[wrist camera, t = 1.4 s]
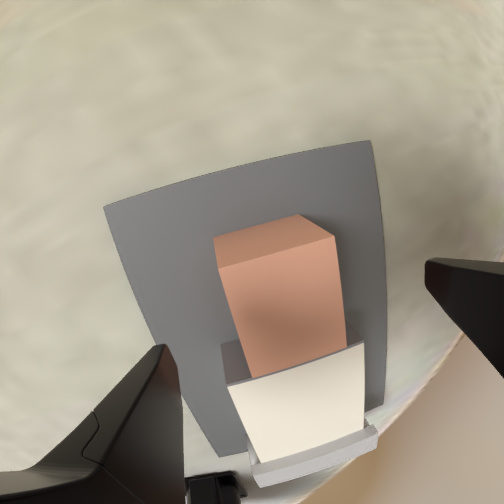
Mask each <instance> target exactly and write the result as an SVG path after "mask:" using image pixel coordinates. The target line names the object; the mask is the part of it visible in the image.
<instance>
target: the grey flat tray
mask: <svg viewBox="0 0 504 504" xmlns="http://www.w3.org/2000/svg"><path fill="white" fill-rule="evenodd" d="M103 209H104V212H105V215H106V218H107V221H108V225H109V228H110V231H111V234H112V237H113V239H114V242H115V245H116V248H117V251H118V254H119V256H120V259H121V262H122V265H123V267H124V270H125V272H126V275H127V278H128V280H129V283H130V285H131V288H132V290H133V293H134V295H135V298H136V300H137V302H138V305H139V307H140V309H141V312H142V314H143V316H144V319H145V321H146V323H147V325H148V328H149V330H150V332H151V334H152V336H153V339H154V341H155V343H156V345H159V344H164V343H165V344H167V346H168V347H169V349H170V351H171V354H172V356H173V358H174V360H175V362H176V364H177V367H178V374H179V382H180V391H181V394H182V396H183V398H184V400H185V402H186V403H187V405H188V407H189V409H190V410H191V412H192V414H193V416H194V417H195V419H196V421H197V423H198V424H199V426H200V428H201V429H202V431H203V433H204V434H205V436H206V438H207V439H208V441H209V442H210V444H211V446H212V447H213V449H214V450H215V452H216V454H217V455H218V457H224V456H229V455H234V454H238V453H243V452H247V451H248V452H249V457H250V462H251V470H252V475H253V477H254V479H255V481H256V482H257V484H258V486H259V487H260V488H262V487H266V486H270V485H274V484H278V483H282V482H286V481H289V480H293V479H296V478H299V477H303V476H306V475H309V474H312V473H315V472H318V471H321V470H324V469H326V468H329V467H332V466H335V465H337V464H340V463H343V462H345V461H348V460H350V459H353V458H355V457H357V456H360V455H362V454H364V453H367V452H369V451H371V450H373V449H376V447H377V440H378V432H377V430H376V428H375V427H374V425H373V424H372V425H369V424H368V422H367V420H366V419H365V417H364V413H365V412H367V411H369V410H371V409H374V408H376V407H378V406H380V405H382V404H383V402H384V389H385V374H386V352H387V290H386V268H385V252H384V239H383V228H382V218H381V209H380V201H379V193H378V186H377V179H376V172H375V166H374V160H373V154H372V148H371V143H370V140H368V141H360V142H353V143H347V144H341V145H335V146H330V147H324V148H319V149H314V150H309V151H303V152H298V153H294V154H289V155H284V156H279V157H275V158H270V159H266V160H262V161H257V162H253V163H249V164H245V165H241V166H237V167H233V168H229V169H225V170H221V171H217V172H213V173H209V174H206V175H202V176H198V177H195V178H191V179H188V180H184V181H181V182H177V183H174V184H171V185H167V186H164V187H161V188H158V189H154V190H151V191H148V192H145V193H142V194H139V195H136V196H133V197H130V198H127V199H124V200H121V201H118V202H115V203H112V204H109V205H106V206H104V207H103ZM297 214H299V215H301V216H302V217H304V218H306V219H307V220H309V221H311V222H312V223H314V224H316V225H317V226H319V227H321V228H322V229H324V230H326V231H327V232H329V233H330V234H332V235H334V236H335V243H336V250H337V257H338V265H339V272H340V281H341V289H342V298H343V308H344V318H345V329H346V342H347V347H346V348H343V349H341V350H338V351H335V352H333V353H330V354H327V355H324V356H322V357H319V358H316V359H313V360H310V361H307V362H304V363H301V364H298V365H295V366H292V367H289V368H285V369H282V370H279V371H276V372H272V373H269V374H266V375H262V376H259V377H255V378H252V376H251V373H250V370H249V367H248V363H247V360H246V357H245V354H244V351H243V348H242V345H241V342H240V339H239V336H238V333H237V329H236V326H235V323H234V320H233V317H232V313H231V310H230V307H229V304H228V301H227V297H226V294H225V291H224V287H223V284H222V281H221V277H220V274H219V271H218V266H217V260H216V254H215V248H214V242H213V237H216V236H219V235H223V234H226V233H230V232H234V231H237V230H241V229H245V228H248V227H252V226H256V225H260V224H263V223H267V222H271V221H274V220H278V219H282V218H286V217H290V216H293V215H297Z"/></svg>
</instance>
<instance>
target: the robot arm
mask: <svg viewBox="0 0 504 504" xmlns="http://www.w3.org/2000/svg"><path fill="white" fill-rule="evenodd" d="M425 286H426V288H427V290H428V291H429V292H430V293H431V295H432V296H433V297H434V298H435V300H436V301H437V302H438V303H439V305H440V306H441V307H442V308H443V310H444V311H445V312H446V314H447V315H448V316H449V317H450V318H451V319H452V320H453V321H454V323H455V324H456V325H457V326H458V327H459V328H460V329H461V330H462V331H463V332H464V333H465V334H466V335H467V337H469V339H470V340H471V341H472V342H473V343H474V344H475V345H476V346H477V348H478V349H479V350H480V351H481V352H482V353H483V354H484V356H485V357H486V358H487V359H488V360H489V361H490V363H491V364H492V365H493V366H494V367H495V368H496V370H497V371H498V372H499V373H500V375H501V376H502V377H503V378H504V263H503V262H490V261H476V260H462V259H448V258H432V259H430V260H428V261H426V263H425ZM93 411H94V412H93ZM93 411H92V412H91V413H90V414H89V415H88V416H87V417H86V418H85V419H84V420H83V421H82V422H81V423H80V424H79V425H78V426H77V427H76V428H75V429H74V430H73V431H72V432H71V433H70V434H69V435H68V436H67V437H66V438H65V439H64V440H63V441H61V442H60V443H59V444H58V445H57V446H56V447H55V448H54V449H53V450H51V451H50V452H49V453H48V454H47V455H46V456H45V457H44V458H42V459H41V460H40V461H39V462H38V463H37V464H35V465H34V466H32V467H30V468H28V469H25V470H21V471H10V472H0V504H186V502H185V496H186V498H187V504H241V500H240V498H243V497H246V496H247V492H246V490H245V489H244V488H243V486H242V485H241V483H240V482H239V480H238V479H237V477H236V476H235V474H234V473H233V472H225V473H220V474H214V475H208V476H202V477H195V478H188V479H184V453H183V407H182V399H181V391H180V382H179V374H178V367H177V364H176V362H175V360H174V358H173V356H172V354H171V351H170V349H169V347H168V346H167V344H165V343H164V344H159V345H155V346H153V347H152V348H151V349H150V350H149V351H148V352H147V353H146V354H145V355H144V356H143V357H142V359H141V360H140V361H139V362H138V363H137V364H136V365H135V366H134V367H133V368H132V369H131V370H130V371H129V372H128V373H127V374H126V376H125V377H124V378H123V379H122V380H121V381H120V382H119V383H118V384H117V385H116V386H115V387H114V388H113V389H112V390H111V391H110V393H109V394H108V395H107V396H106V397H105V398H104V399H103V400H102V401H101V402H100V403H99V404H98V405H97V406H96V407H95V409H94V410H93Z"/></svg>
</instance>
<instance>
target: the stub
mask: <svg viewBox="0 0 504 504" xmlns="http://www.w3.org/2000/svg"><path fill="white" fill-rule="evenodd" d="M213 242H214V248H215V254H216V260H217V266H218V271H219V274H220V277H221V281H222V284H223V287H224V291H225V294H226V297H227V301H228V304H229V307H230V310H231V313H232V317H233V320H234V323H235V326H236V329H237V333H238V336H239V339H240V342H241V345H242V348H243V351H244V354H245V357H246V360H247V363H248V367H249V370H250V373H251V376H252V378H255V377H259V376H262V375H266V374H269V373H272V372H276V371H279V370H282V369H285V368H289V367H292V366H295V365H298V364H301V363H304V362H307V361H310V360H313V359H316V358H319V357H322V356H324V355H327V354H330V353H333V352H335V351H338V350H341V349H343V348H346V347H347V342H346V329H345V318H344V308H343V298H342V289H341V281H340V272H339V265H338V257H337V250H336V243H335V236H334V235H332V234H330V233H329V232H327V231H326V230H324V229H322V228H321V227H319V226H317V225H316V224H314V223H312V222H311V221H309V220H307V219H306V218H304V217H302V216H301V215H299V214H297V215H293V216H290V217H286V218H282V219H278V220H274V221H271V222H267V223H263V224H260V225H256V226H252V227H248V228H245V229H241V230H237V231H234V232H230V233H226V234H223V235H219V236H216V237H213Z"/></svg>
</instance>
